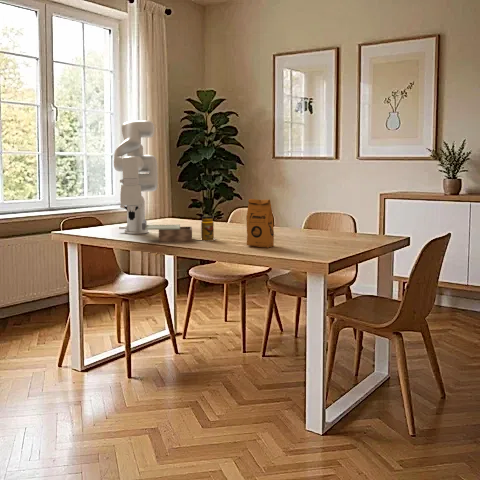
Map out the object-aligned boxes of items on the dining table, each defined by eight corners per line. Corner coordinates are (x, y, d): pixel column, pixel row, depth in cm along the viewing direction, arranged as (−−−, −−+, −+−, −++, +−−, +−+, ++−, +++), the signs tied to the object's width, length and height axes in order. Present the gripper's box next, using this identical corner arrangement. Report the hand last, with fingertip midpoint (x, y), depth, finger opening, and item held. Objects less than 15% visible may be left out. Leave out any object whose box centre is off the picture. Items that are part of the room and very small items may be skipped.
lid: (142, 229, 300) (141, 223, 299) (143, 226, 312) (143, 220, 312) (180, 229, 302) (180, 222, 301) (180, 226, 314) (179, 219, 313)
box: (158, 242, 302) (158, 230, 301) (159, 238, 314) (159, 227, 313) (192, 241, 303) (192, 229, 302) (191, 238, 315) (191, 226, 314)
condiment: (211, 241, 305) (211, 217, 304) (195, 240, 308) (195, 216, 306) (216, 239, 312) (216, 215, 310) (200, 238, 315) (200, 215, 313)
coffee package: (267, 249, 281) (268, 200, 278) (243, 247, 287) (243, 199, 284) (277, 246, 290) (277, 198, 287) (253, 244, 296) (253, 197, 293)
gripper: (114, 182, 298) (115, 220, 300) (146, 182, 299) (147, 220, 301) (115, 182, 305) (116, 219, 307) (146, 181, 306) (147, 219, 309)
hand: (131, 219), depth 304 cm, fingers closed
